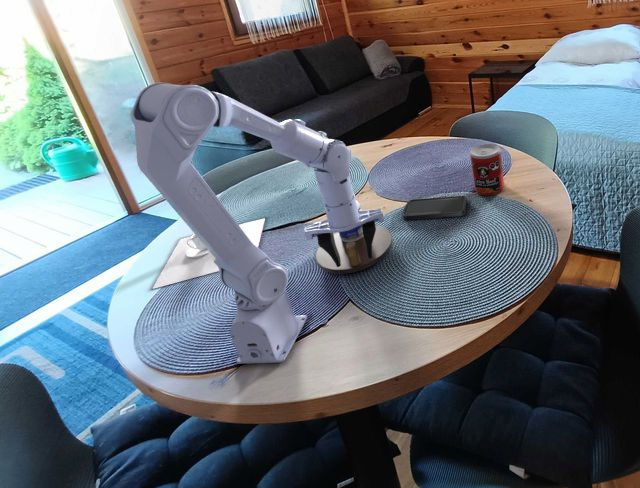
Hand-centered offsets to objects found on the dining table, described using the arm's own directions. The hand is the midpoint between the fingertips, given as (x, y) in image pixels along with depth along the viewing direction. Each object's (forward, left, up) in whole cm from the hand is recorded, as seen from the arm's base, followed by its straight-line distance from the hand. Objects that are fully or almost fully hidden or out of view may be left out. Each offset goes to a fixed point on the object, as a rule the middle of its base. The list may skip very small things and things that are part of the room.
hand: (354, 259), depth 85 cm
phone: (+22, -13, -3) cm, 26 cm away
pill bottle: (+10, +4, -1) cm, 11 cm away
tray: (+6, +2, -2) cm, 7 cm away
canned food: (+31, -26, -3) cm, 41 cm away
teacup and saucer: (+11, +38, -3) cm, 40 cm away
